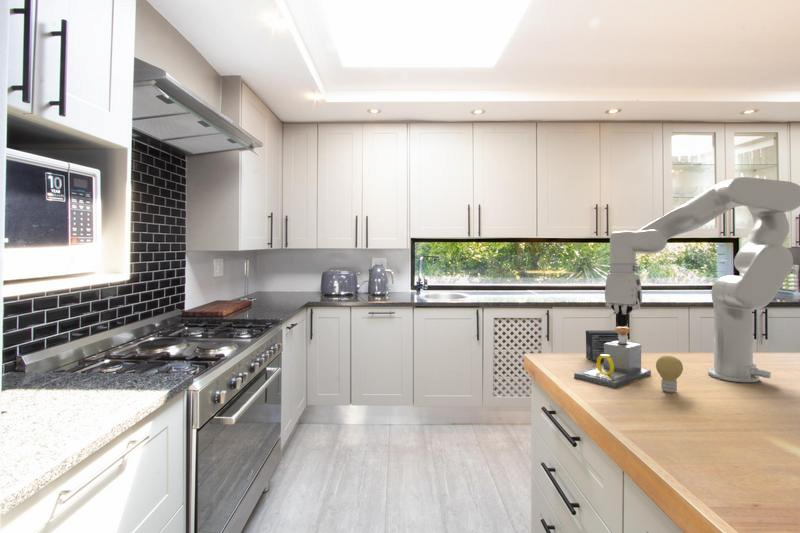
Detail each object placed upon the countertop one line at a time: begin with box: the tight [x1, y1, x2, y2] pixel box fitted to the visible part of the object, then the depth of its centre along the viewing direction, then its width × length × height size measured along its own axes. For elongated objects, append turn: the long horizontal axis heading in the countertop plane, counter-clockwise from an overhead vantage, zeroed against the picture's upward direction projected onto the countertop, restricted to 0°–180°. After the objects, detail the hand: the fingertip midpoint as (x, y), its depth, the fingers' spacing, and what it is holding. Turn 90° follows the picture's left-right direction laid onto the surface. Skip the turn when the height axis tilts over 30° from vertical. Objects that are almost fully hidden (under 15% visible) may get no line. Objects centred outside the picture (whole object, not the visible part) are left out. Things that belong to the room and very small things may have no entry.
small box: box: [585, 329, 618, 362], centre depth 155 cm, size 11×6×10 cm, turn 84°
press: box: [573, 340, 652, 389], centre depth 134 cm, size 13×22×10 cm, turn 126°
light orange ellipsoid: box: [614, 326, 631, 345], centre depth 137 cm, size 4×4×8 cm
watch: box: [595, 354, 614, 375], centre depth 131 cm, size 6×3×6 cm, turn 17°
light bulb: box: [655, 355, 684, 394], centre depth 119 cm, size 6×6×10 cm
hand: (622, 325), depth 137 cm, fingers closed
